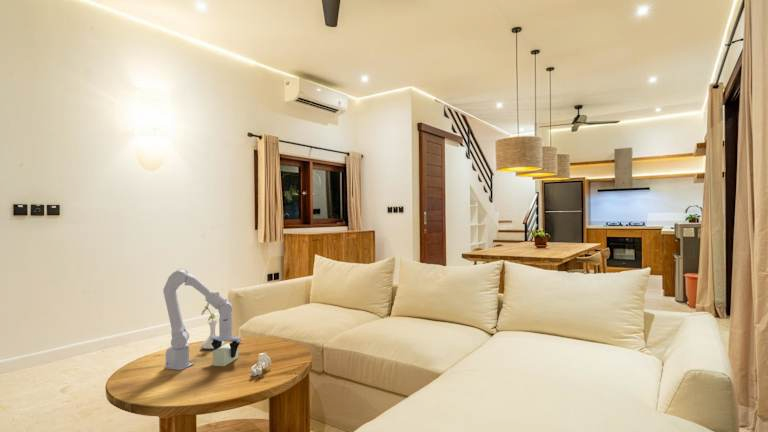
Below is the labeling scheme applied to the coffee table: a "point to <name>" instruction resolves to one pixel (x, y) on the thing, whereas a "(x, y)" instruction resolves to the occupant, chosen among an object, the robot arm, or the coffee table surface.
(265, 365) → the white lumpy piece
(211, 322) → the flower in vase
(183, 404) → the coffee table surface
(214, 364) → the pale green block
